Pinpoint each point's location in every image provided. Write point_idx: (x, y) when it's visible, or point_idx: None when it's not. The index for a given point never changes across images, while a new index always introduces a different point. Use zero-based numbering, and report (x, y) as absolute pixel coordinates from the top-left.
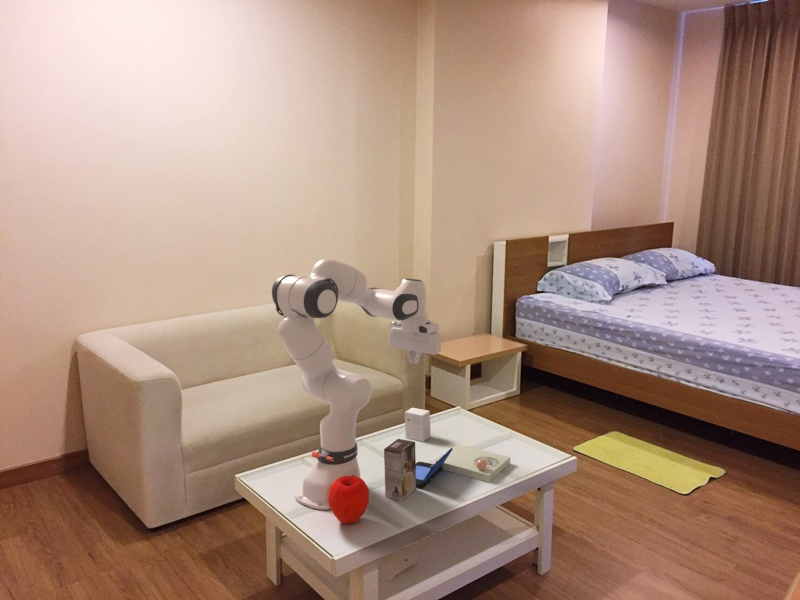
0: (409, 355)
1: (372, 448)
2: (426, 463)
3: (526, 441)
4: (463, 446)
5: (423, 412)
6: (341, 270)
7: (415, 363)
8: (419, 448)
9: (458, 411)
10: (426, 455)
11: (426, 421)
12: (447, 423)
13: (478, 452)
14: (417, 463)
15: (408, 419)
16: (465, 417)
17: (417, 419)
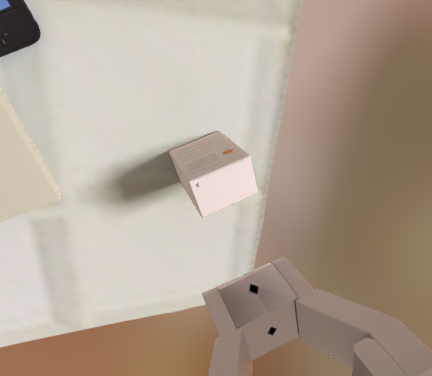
0: (333, 319)
1: (230, 8)
2: (5, 43)
3: (14, 336)
4: (37, 201)
5: (206, 196)
6: None
7: (214, 288)
8: (142, 117)
9: None
10: (89, 102)
11: (186, 187)
12: (210, 249)
13: None
14: (26, 21)
15: (229, 152)
16: None
17: (202, 167)
